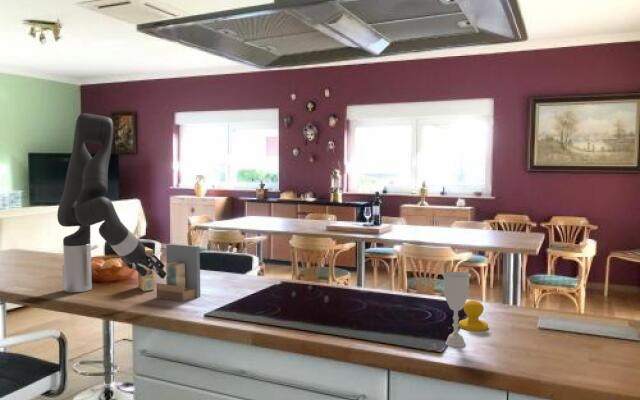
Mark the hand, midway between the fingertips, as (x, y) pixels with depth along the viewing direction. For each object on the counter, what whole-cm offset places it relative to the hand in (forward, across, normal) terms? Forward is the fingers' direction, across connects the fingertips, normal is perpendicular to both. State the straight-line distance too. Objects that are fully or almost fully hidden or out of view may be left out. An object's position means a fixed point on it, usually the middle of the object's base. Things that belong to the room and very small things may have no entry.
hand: (154, 275), depth 176 cm
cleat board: (+14, 0, 0) cm, 14 cm away
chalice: (+10, -99, +4) cm, 99 cm away
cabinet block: (+12, 0, -2) cm, 12 cm away
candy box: (+18, +20, -4) cm, 27 cm away
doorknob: (+23, -100, -8) cm, 103 cm away
